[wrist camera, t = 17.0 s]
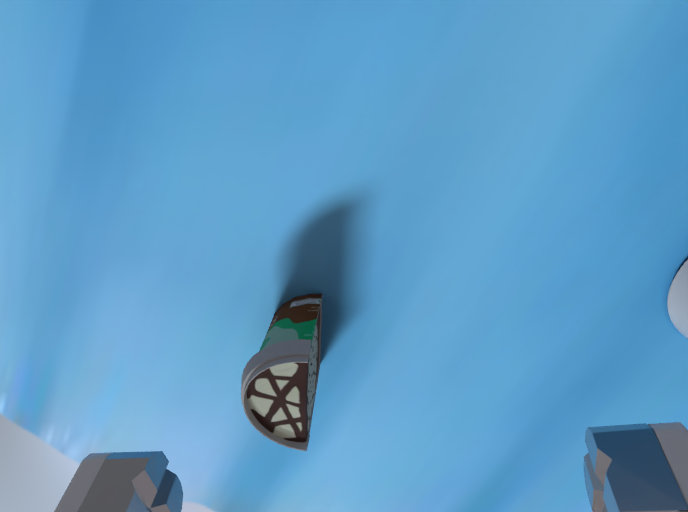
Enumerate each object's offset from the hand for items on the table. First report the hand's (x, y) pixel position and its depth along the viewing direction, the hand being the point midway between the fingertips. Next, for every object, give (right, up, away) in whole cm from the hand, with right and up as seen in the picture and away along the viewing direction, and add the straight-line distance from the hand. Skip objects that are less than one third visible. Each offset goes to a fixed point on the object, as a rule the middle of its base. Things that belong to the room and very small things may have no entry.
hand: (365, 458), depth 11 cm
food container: (-6, -3, +46) cm, 46 cm away
